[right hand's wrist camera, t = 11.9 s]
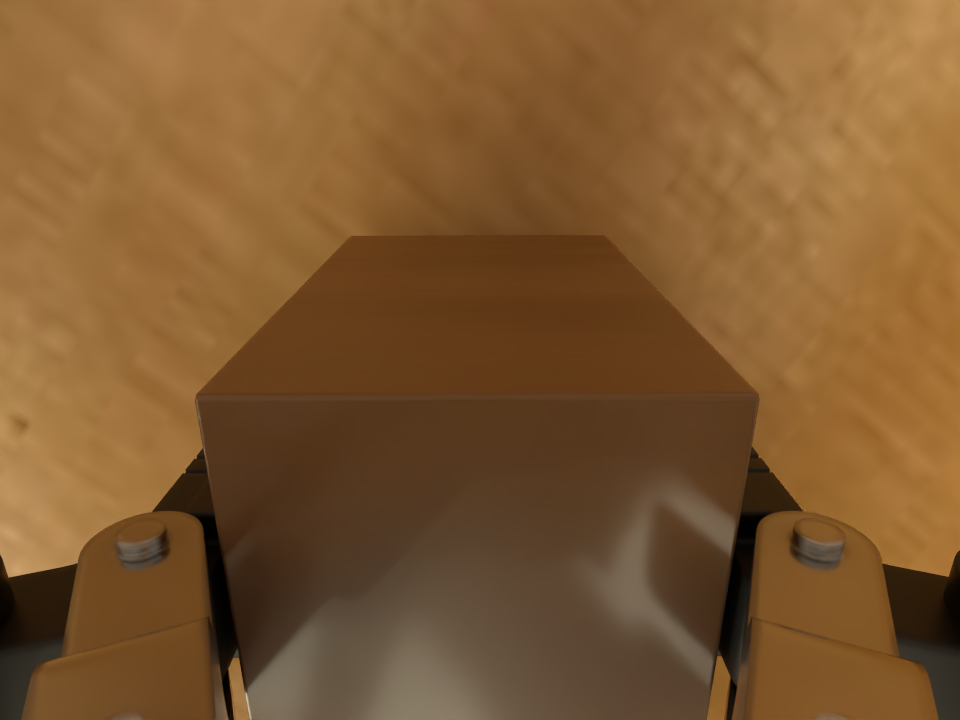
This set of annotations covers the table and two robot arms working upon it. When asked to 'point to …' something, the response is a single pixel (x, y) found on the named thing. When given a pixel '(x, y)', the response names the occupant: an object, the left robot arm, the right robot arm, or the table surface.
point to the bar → (477, 488)
